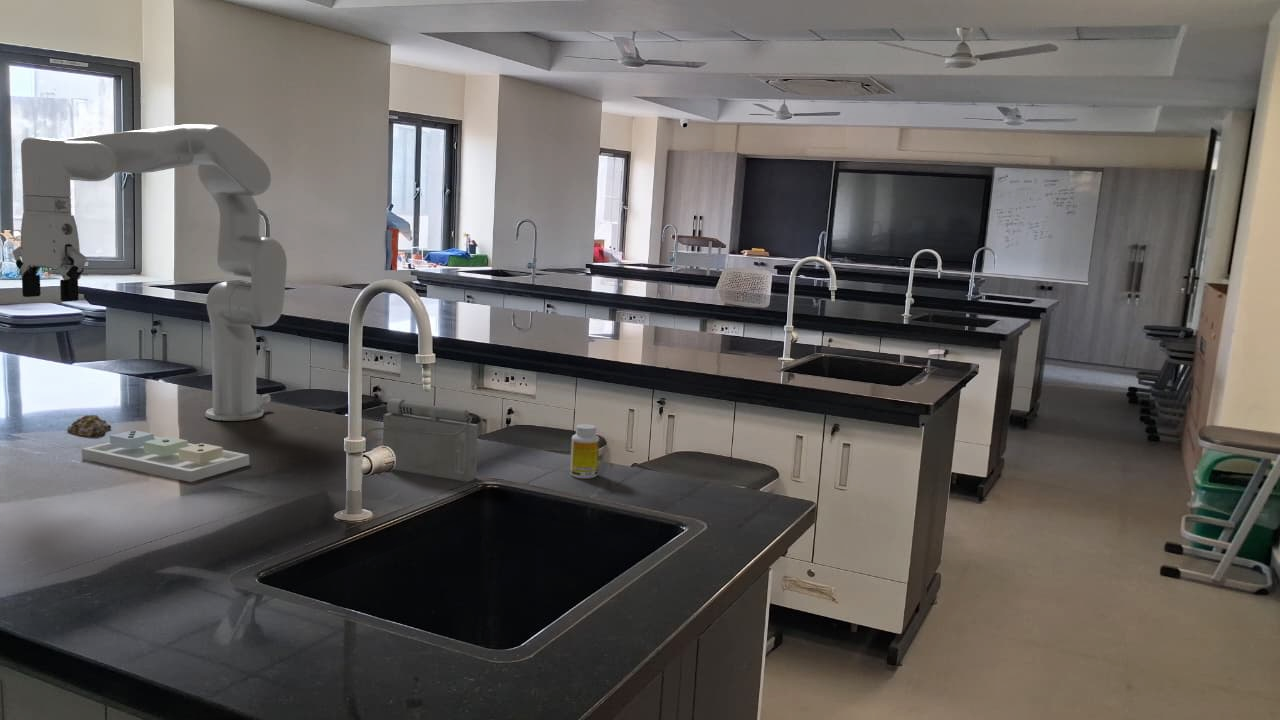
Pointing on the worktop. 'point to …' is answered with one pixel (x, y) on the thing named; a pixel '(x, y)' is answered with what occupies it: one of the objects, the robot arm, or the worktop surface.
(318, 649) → the worktop surface
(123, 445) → the key three dots
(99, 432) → the mineral rock
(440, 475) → the geiger counter
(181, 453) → the key two dots
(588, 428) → the supplement bottle
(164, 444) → the key one dot
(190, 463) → the key panel
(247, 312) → the robot arm
